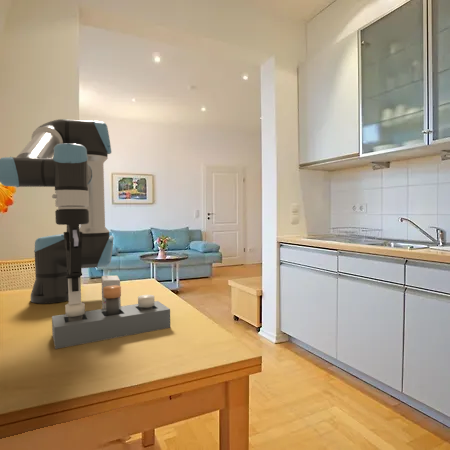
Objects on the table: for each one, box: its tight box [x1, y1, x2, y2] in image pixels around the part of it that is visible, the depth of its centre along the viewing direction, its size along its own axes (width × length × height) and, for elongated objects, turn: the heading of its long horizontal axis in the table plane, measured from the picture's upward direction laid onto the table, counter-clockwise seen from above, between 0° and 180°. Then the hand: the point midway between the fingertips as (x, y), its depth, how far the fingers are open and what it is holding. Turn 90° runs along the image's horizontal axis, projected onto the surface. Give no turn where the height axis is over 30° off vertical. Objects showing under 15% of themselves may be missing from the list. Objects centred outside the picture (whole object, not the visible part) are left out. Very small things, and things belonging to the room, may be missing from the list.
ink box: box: [101, 274, 122, 309], centre depth 104 cm, size 8×5×12 cm, turn 23°
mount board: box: [51, 300, 171, 350], centre depth 91 cm, size 10×28×5 cm, turn 120°
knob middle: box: [103, 285, 122, 316], centre depth 91 cm, size 4×4×7 cm
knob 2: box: [137, 294, 155, 311], centre depth 95 cm, size 4×4×7 cm
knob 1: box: [64, 301, 86, 322], centre depth 87 cm, size 4×4×7 cm
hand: (74, 303), depth 86 cm, fingers closed
